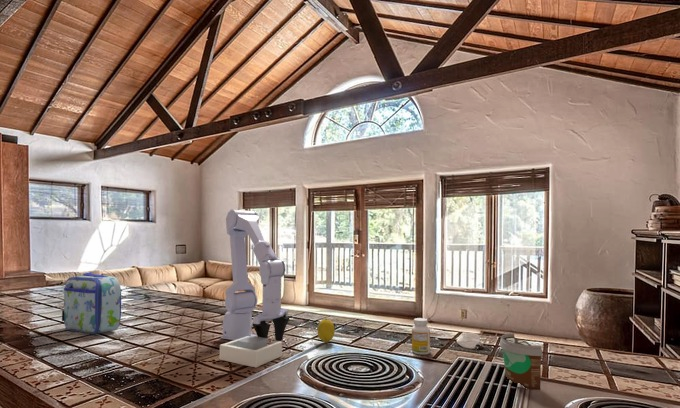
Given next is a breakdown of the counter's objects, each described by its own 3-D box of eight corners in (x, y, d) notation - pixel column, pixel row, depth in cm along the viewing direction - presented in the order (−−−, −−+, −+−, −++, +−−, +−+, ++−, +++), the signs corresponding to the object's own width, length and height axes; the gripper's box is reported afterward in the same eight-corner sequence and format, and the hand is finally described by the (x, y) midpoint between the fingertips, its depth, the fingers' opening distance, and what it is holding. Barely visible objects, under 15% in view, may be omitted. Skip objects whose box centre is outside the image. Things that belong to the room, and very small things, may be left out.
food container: (491, 373, 96) (490, 333, 97) (514, 372, 96) (512, 332, 97) (518, 393, 84) (516, 347, 85) (544, 392, 84) (542, 346, 85)
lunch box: (57, 329, 142) (60, 273, 144) (88, 323, 151) (91, 270, 153) (90, 339, 128) (94, 276, 130) (123, 332, 137) (126, 274, 139)
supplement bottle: (418, 348, 118) (418, 316, 118) (433, 352, 114) (433, 319, 115) (408, 352, 114) (408, 319, 115) (423, 356, 110) (423, 322, 111)
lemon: (332, 346, 120) (332, 320, 121) (315, 345, 121) (315, 319, 122) (336, 341, 125) (336, 316, 126) (319, 340, 126) (320, 316, 127)
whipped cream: (453, 348, 121) (451, 333, 122) (463, 342, 126) (461, 327, 126) (477, 351, 116) (475, 335, 116) (486, 345, 120) (484, 329, 121)
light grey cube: (237, 358, 108) (237, 340, 108) (252, 352, 113) (252, 335, 114) (252, 362, 105) (253, 343, 105) (268, 355, 110) (268, 337, 111)
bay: (219, 359, 107) (219, 344, 107) (247, 349, 117) (247, 335, 117) (255, 367, 100) (256, 352, 101) (282, 356, 110) (282, 341, 110)
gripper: (266, 303, 109) (265, 351, 108) (296, 296, 122) (295, 339, 121) (248, 301, 113) (247, 348, 111) (278, 294, 125) (278, 336, 124)
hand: (271, 343), depth 116 cm, fingers open, 7 cm apart
